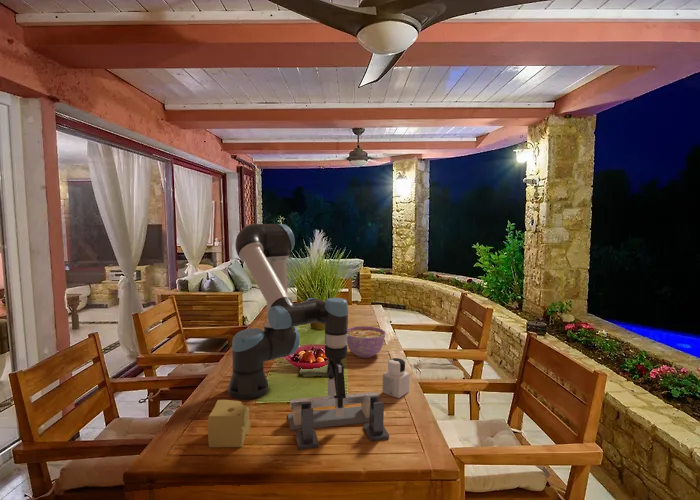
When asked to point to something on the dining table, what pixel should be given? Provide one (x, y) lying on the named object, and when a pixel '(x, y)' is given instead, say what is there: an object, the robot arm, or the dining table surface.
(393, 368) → the container
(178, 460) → the dining table surface
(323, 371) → the washcloth
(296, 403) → the rail
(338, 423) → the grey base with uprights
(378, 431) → the grey rack
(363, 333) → the bowl of food
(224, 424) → the cheese
